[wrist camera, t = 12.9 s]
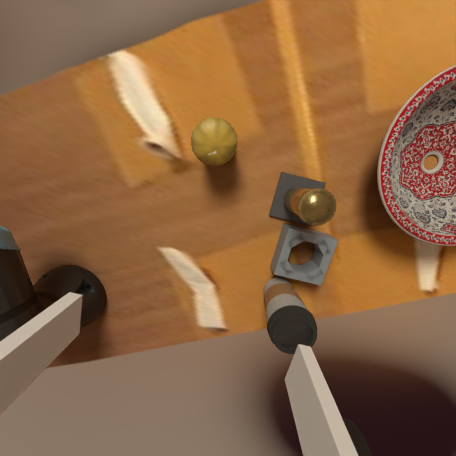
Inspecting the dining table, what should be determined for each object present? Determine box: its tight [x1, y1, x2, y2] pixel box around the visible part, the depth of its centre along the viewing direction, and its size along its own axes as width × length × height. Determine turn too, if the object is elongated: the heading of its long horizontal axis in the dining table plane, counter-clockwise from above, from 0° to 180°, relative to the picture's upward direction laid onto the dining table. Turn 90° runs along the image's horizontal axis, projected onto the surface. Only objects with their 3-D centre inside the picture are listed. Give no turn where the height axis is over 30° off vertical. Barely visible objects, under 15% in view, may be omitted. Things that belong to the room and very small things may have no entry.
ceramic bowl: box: [377, 65, 456, 246], centre depth 39 cm, size 29×29×8 cm
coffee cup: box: [264, 277, 317, 354], centre depth 43 cm, size 8×8×15 cm
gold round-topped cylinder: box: [283, 187, 336, 226], centre depth 39 cm, size 6×6×12 cm
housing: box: [271, 223, 338, 285], centre depth 46 cm, size 10×10×4 cm
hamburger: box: [191, 117, 238, 166], centre depth 37 cm, size 8×7×12 cm
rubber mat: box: [269, 172, 325, 225], centre depth 45 cm, size 9×9×1 cm
